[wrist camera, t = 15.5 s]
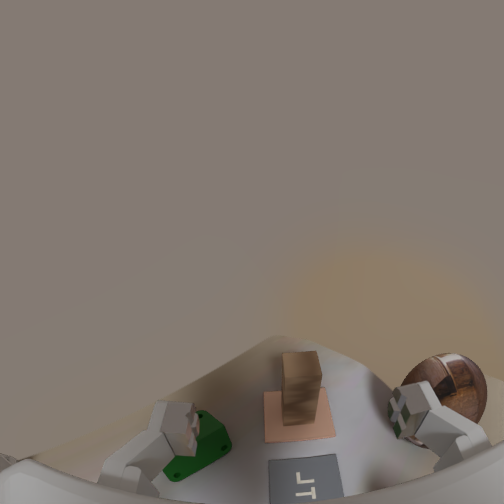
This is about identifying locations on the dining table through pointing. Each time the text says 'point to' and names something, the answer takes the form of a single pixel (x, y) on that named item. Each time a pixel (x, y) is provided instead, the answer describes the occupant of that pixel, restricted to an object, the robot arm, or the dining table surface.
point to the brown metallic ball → (452, 385)
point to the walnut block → (300, 387)
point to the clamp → (201, 449)
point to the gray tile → (304, 480)
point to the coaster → (296, 432)
